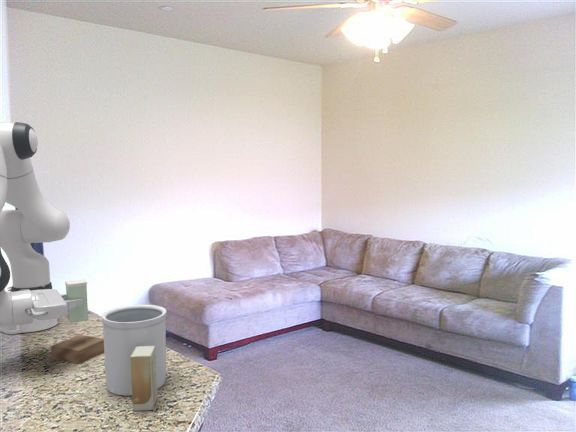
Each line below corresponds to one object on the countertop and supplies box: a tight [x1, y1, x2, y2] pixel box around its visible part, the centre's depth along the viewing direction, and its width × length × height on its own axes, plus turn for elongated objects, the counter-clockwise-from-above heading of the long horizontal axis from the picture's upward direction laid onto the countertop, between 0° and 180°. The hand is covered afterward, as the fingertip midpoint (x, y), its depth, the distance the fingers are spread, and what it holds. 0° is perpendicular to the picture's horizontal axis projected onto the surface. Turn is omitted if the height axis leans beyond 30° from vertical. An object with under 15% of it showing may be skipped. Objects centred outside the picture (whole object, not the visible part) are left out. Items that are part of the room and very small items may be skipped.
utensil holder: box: [101, 304, 168, 396], centre depth 120 cm, size 15×15×18 cm
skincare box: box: [130, 346, 158, 412], centre depth 110 cm, size 6×4×12 cm
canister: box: [64, 278, 89, 324], centre depth 139 cm, size 5×5×11 cm
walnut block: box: [50, 334, 104, 365], centre depth 140 cm, size 10×10×4 cm
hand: (80, 299), depth 140 cm, fingers closed on canister, 5 cm apart
